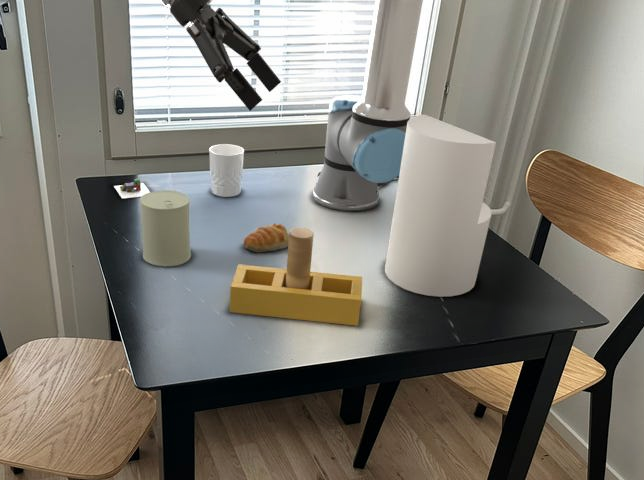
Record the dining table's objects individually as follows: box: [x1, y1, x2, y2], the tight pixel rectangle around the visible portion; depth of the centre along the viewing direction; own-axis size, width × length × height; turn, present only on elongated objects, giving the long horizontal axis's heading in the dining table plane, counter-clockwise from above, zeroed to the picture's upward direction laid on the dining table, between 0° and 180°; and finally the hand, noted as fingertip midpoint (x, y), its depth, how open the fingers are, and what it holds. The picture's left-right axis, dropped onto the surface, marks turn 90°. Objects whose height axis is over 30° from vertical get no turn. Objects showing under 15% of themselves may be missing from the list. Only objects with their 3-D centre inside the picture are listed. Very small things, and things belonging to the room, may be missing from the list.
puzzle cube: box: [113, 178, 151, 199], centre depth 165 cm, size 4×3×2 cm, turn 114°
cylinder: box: [384, 113, 497, 298], centre depth 130 cm, size 17×17×28 cm
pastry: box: [242, 223, 289, 253], centre depth 143 cm, size 9×7×4 cm
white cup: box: [208, 143, 245, 198], centre depth 165 cm, size 8×8×10 cm
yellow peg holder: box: [229, 263, 363, 326], centre depth 123 cm, size 8×22×5 cm, turn 83°
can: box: [139, 189, 192, 268], centre depth 135 cm, size 9×9×12 cm
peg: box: [285, 227, 315, 290], centre depth 121 cm, size 4×4×14 cm
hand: (266, 96), depth 126 cm, fingers open, 13 cm apart
